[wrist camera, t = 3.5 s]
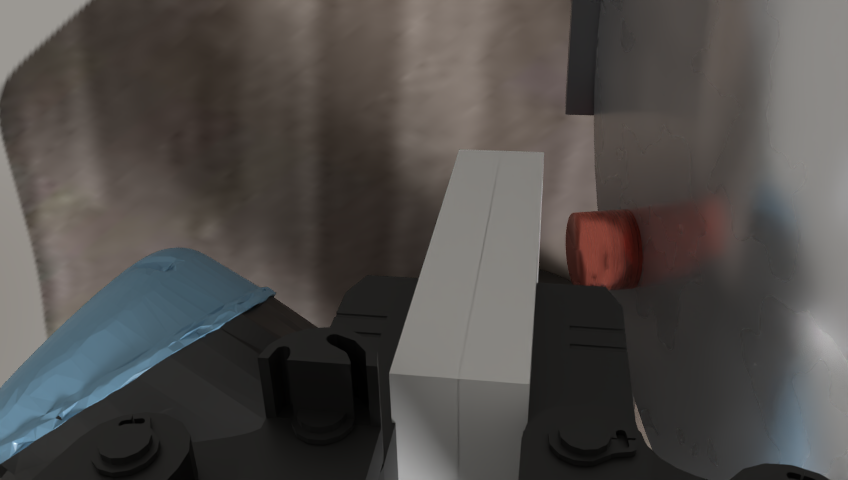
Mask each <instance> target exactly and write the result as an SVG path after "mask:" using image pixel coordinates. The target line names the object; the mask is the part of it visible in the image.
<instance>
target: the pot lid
mask: <svg viewBox="0 0 848 480" xmlns="http://www.w3.org/2000/svg"><path fill="white" fill-rule="evenodd" d="M594 151H595V176H596V192H597V206H598V211H592V212H578V213H572V214H571V215H570V217H569V219H568V223H567V229H566V257H567V265H568V270H569V275H570V278H571V281H572V284H573V285H585V286H602V287H606V288H607V289H608V290H609V291H610V292H611V294H612V295H613V296H614V297H615V298H616V300H617V301H618V302H619V303H620V304H621V306H622V307H623V315H624V324H625V334H626V342H627V352H628V360H629V369H630V378H631V387H632V393H633V396H634V399H635V402H636V405H637V408H638V411H639V414H640V417H641V420H642V423H643V426H644V429H645V432H646V435H647V437H648V440H649V442H650V445H651V447H652V450H653V452H654V453H656V454H657V455H658V456H659V457H660V458H662V459H663V460H665V461H666V462H668V463H670V464H671V465H673V466H674V467H676V468H678V469H681V470H683V471H686V472H688V473H690V474H693V475H695V476H698V477H701V478H704V479H708V480H730V479H731V478H732V477H734V476H735V475H736V474H737V473H739V472H740V471H741V470H742V469H744V468H748V467H752V466H756V465H760V464H764V463H769V464H786V465H794V466H797V467H800V468H803V469H807V470H810V471H813V472H816V473H819V474H821V475H823V476H825V477H826V478H828V479H830V480H848V0H601V7H600V18H599V28H598V38H597V51H596V69H595V88H594Z"/></svg>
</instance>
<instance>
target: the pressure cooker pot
mask: <svg viewBox="0 0 848 480" xmlns="http://www.w3.org/2000/svg"><path fill="white" fill-rule="evenodd" d="M600 7H601V0H571V16H570V33H569V49H568V66H567V83H566V114H567V115H594V88H595V69H596V51H597V38H598V28H599V18H600Z"/></svg>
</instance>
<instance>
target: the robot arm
mask: <svg viewBox="0 0 848 480" xmlns="http://www.w3.org/2000/svg"><path fill="white" fill-rule="evenodd" d="M543 167H544V152H520V151H492V150H463V149H459V152H458V155H457V158H456V162H455V165H454V168H453V171H452V174H451V177H450V181H449V184H448V187H447V190H446V193H445V197H444V200H443V203H442V206H441V209H440V213H439V216H438V219H437V222H436V225H435V229H434V232H433V235H432V238H431V241H430V245H429V248H428V251H427V254H426V257H425V260H424V264H423V267H422V270H421V273H420V276H419V278H406V277H388V276H371V275H367V276H366V277H365V278H363V279H362V280H361V281H360V282H358V283H357V284H356V285H355V286H353V287H352V288H351V289H350V290H348V291H347V292H346V293H345V296H344V298H343V300H342V302H341V304H340V307H339V309H338V311H337V316H336V317H335V318H334V320H333V322H332V324H331V326H330V327H328V328H318V327H316V326H315V325H313V324H312V323H310V322H309V321H307V320H306V319H304V318H303V317H302V316H300V315H299V314H297V313H296V312H294V311H293V310H291V309H290V308H289V307H287V306H286V305H284V304H283V303H281V302H280V301H278V300H277V299H275V298H274V296H275V295H276V292H274V291H273V290H272V289H270V288H268V287H258V286H257V285H255V284H253V283H252V282H250V281H248V280H247V279H245V278H243V277H242V276H240V275H238V274H237V273H235V272H233V271H232V270H230V269H228V268H227V267H225V266H223V265H222V264H220V263H218V262H217V261H215V260H213V259H212V258H210V257H208V256H207V255H205V254H203V253H201V252H199V251H196V250H193V249H188V248H169V249H164V250H160V251H157V252H155V253H153V254H150V255H148V256H147V257H145V258H143V259H141V260H139V261H138V262H136V263H135V264H133V265H132V266H131V267H129V268H128V269H126V270H125V271H124V272H123V273H121V274H120V275H119V276H117V277H116V278H115V279H114V280H112V281H111V282H110V283H109V284H108V285H106V286H105V287H104V288H103V289H102V290H100V291H99V292H98V293H97V294H96V295H95V296H93V297H92V298H91V299H90V300H89V301H88V302H87V303H86V304H85V305H83V306H82V307H81V308H80V309H79V310H78V311H77V312H76V313H75V314H74V315H72V316H71V317H70V318H69V319H68V320H67V321H66V322H65V323H64V324H63V325H62V326H61V327H60V328H59V329H58V330H56V331H55V332H54V333H53V334H52V335H51V336H50V337H49V338H48V339H47V340H46V341H45V342H44V343H43V344H42V345H41V346H40V347H39V348H38V349H37V350H36V351H35V352H34V353H33V354H32V355H31V356H30V357H29V358H28V359H27V360H26V361H25V362H24V363H23V364H22V365H21V366H20V367H19V368H18V370H17V371H16V372H15V373H14V374H13V375H12V376H11V377H10V378H9V379H8V380H7V381H6V382H5V383H4V384H3V385H2V387H1V388H0V480H708V479H704V478H701V477H698V476H695V475H693V474H690V473H688V472H686V471H683V470H681V469H678V468H676V467H674V466H673V465H671V464H670V463H668V462H666V461H665V460H663V459H662V458H660V457H659V456H658V455H657V454H656V453H654V452H653V451H652V450H651V449H650V448H649V447H648V446H647V445H646V443H645V441H644V439H643V436H642V434H641V432H640V431H639V430H638V428H637V425H636V422H635V413H634V409H635V399H634V396H633V393H632V387H631V378H630V369H629V360H628V352H627V342H626V334H625V324H624V315H623V307H622V306H621V304H620V303H619V302H618V301H617V300H616V298H615V297H614V296H613V295H612V294H611V292H610V291H609V290H608V289H607V288H606V287H602V286H585V285H573V284H572V282H570V281H568V280H566V279H564V278H562V277H559V276H557V275H554V274H551V273H548V272H545V271H542V270H539V249H540V229H541V208H542V187H543ZM730 480H830V479H828V478H826V477H825V476H823V475H821V474H819V473H816V472H813V471H810V470H807V469H803V468H800V467H797V466H794V465H786V464H769V463H764V464H760V465H756V466H752V467H748V468H744V469H742V470H741V471H740V472H739V473H737V474H736V475H735V476H734V477H732V478H731V479H730Z"/></svg>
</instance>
